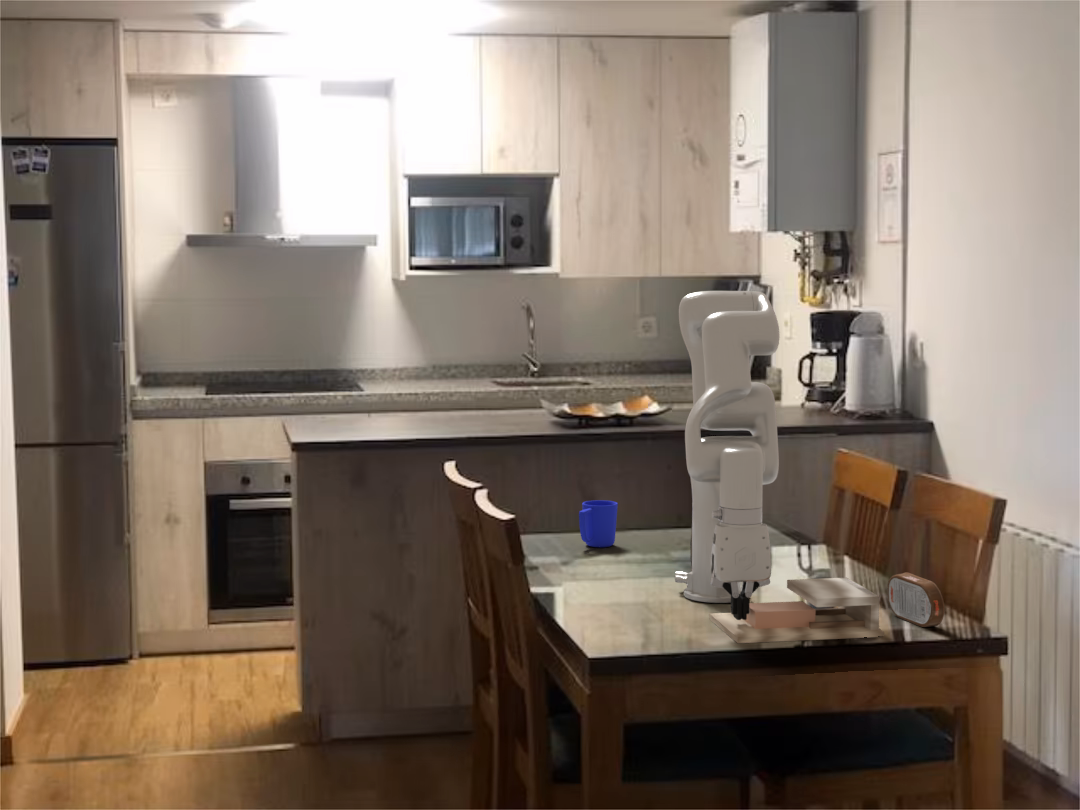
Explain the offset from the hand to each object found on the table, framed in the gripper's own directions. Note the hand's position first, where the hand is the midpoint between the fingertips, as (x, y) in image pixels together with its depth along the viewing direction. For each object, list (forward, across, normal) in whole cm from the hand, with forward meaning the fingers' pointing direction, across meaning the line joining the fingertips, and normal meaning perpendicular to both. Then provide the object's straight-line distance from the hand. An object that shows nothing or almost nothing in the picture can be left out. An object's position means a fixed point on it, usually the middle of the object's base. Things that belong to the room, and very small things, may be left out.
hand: (739, 618), depth 269 cm
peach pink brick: (+1, +7, 0) cm, 7 cm away
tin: (+3, +33, +1) cm, 33 cm away
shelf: (+2, +10, 0) cm, 10 cm away
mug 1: (+2, -11, +82) cm, 82 cm away
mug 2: (+2, +8, +51) cm, 52 cm away
